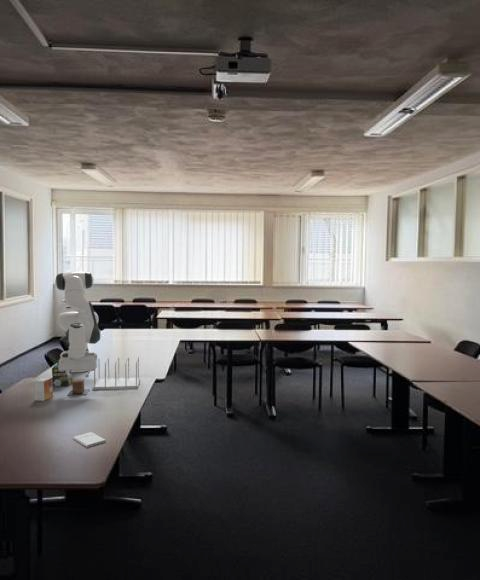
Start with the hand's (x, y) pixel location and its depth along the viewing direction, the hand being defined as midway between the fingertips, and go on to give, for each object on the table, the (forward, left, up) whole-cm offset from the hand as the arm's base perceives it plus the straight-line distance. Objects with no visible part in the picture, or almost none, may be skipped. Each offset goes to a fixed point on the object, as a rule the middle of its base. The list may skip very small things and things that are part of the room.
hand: (78, 377), depth 260 cm
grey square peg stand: (+1, 0, -8) cm, 8 cm away
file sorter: (-12, +19, -9) cm, 24 cm away
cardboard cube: (+1, 0, -8) cm, 8 cm away
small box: (+9, -16, -9) cm, 20 cm away
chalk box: (-18, -13, -9) cm, 24 cm away
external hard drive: (+70, +18, -9) cm, 73 cm away
